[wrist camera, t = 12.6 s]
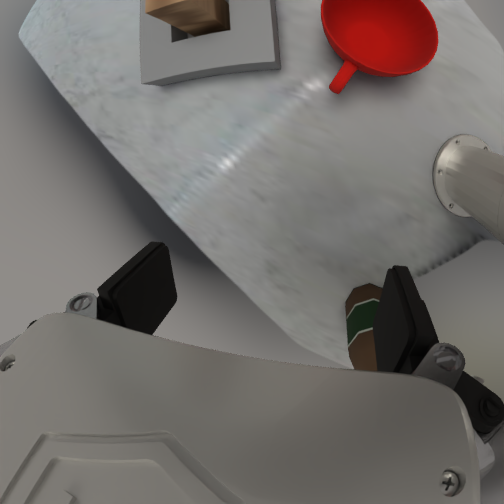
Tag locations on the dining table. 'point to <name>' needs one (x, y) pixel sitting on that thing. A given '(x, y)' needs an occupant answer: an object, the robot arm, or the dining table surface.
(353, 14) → the ceramic cup
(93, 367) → the robot arm
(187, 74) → the well block
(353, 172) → the dining table surface
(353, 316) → the beer bottle
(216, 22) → the brown rectangular block
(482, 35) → the dining table surface
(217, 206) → the dining table surface
